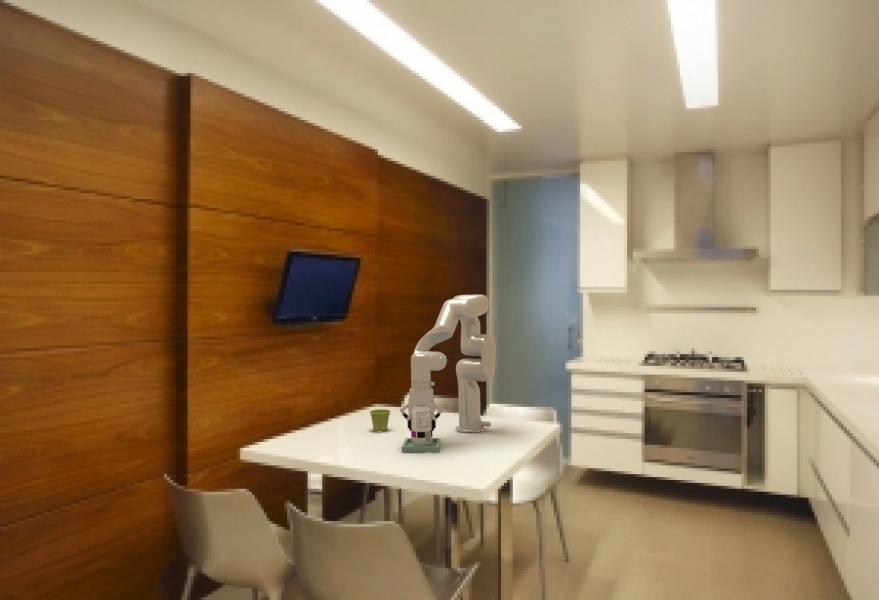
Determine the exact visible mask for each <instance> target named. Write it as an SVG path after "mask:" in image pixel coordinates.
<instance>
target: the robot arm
mask: <svg viewBox="0 0 879 600" xmlns="http://www.w3.org/2000/svg"><path fill="white" fill-rule="evenodd" d="M489 307H490V301H489V298H488V297H487V296H486V295H484V294H459V295H455V296H454V297H453V298H451V299H448V300H446V301H444V303H443V305H442V307H441V309H440V312H439V315H438V316H437V319H436V322H435V323H434V324H435V325H434V326H433V328H432V329H430V330H429V331H427V332H426V333H425V334H424V336H422V337H421V338H420V339H419V341H418V342H417V344H416V346H415V348H414V351H413V354H412V355H411V357H410V373H411V375H410V378H411V380H410V381H411V385H410V386H411V387H410V388H409V390H408V391H409V392H408V402H407V404H405V405H404V406H403V407H401V408H400V409H399V412H400V414H401V415H402V416H403V418H404V419H405V420H406V421H407V429H408V430H409V431H408V432H411V414H412V409H413V408H414V406H428V407H429V409H430V414H431V417H432V432H434V431H435V429H437V425H436V423H437V421H436V420H437V419H438V418H439V417H440V416H441V414H442V413H443V411H444V408H443V407H441V406H439V405H438V404H436V403H435V394H434V393H435V392H434V389H433V388H432V387H434V386H435V381H434V382H433V381H431V380H432V377H431V375H432V374H431V372H432V371H436V372H437V371H441V370H443V369H445V368H446V366H447V362H448V359H447V356H446V355H445V354H444V353H442V352H441V351H429V350H431V348H432V347H434V346H436V345H437V344H439V343H442V342H444V341H446V340H448V339H450V338H452V337H453V336H454V333H455V331H456V328H457V327H458V326H457V325H458V322H459V320H460V324H461V325H460V326H461V332H460V351H461V354H463V355H465V356H472V357H473V356H474V357H481V358H462V359H460V360H458V362H457V363H456V366H455V373H456V377H457V385H458V387H457V388H458V425H457V426H455V430H457V431H456V432H458V431H460V432H459V433H463V432H476V433H479V432H478V431H481V432H483V431H485V427H491V426H492V421H487V420H486V421H483V420H482V418H481V390H480V386H479V384H478V382H490V381H492V380H493V379H494V377H495V372H496V353H497V352H496V351H497V349H496V348H497V345H496V341H495V338H494V337H493V336H492V335H491V334H490V335H489V334H481V321H480V319H479V317H480V316H482V315H485V314H486V313H487V312H488V309H489ZM435 409H436V410H438V412H437V413H435ZM405 410H407V411H408V414H407V413H406V412H405ZM482 430H483V431H482Z"/></svg>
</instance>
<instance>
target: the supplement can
mask: <svg viewBox="0 0 879 600" xmlns="http://www.w3.org/2000/svg"><path fill="white" fill-rule="evenodd" d="M410 433H411V434H410V438H411V442H412V443H413V445H417V446H426V445H430V444H431V443H432V442H433V438H434V436H433V435H434V434H433V431H432V417H431V414H430V409H429V407H428V406H414V408H413V409H412V414H411V431H410Z"/></svg>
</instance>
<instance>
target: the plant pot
mask: <svg viewBox="0 0 879 600" xmlns="http://www.w3.org/2000/svg"><path fill="white" fill-rule="evenodd" d="M391 412H392V411H391V410H390V409H387V408H386V409H372V410H370V411H369V413H370V417H371V422H372V430H373V432H376V431H383V432H384V431H385V430H387V431H388V425H389V417H390V414H391ZM385 432H386V431H385Z"/></svg>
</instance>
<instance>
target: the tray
mask: <svg viewBox="0 0 879 600" xmlns="http://www.w3.org/2000/svg"><path fill="white" fill-rule="evenodd" d="M440 443H441V438H440V437H433V442H432V443H431V444H430V445H426V446H417V445H413V443H412V442H411V437H406V438H405V439H404V441H403V443H402V445H401V453H402V454H403V453H404V454H405V453H406V454H411V453H412V454H414V453H415V454H419V453H420V452H421V453H420V454H422V453H424V454H425V453H426V452H432V454H436V453H437V454H438V453H440V449H441V444H440Z"/></svg>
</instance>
